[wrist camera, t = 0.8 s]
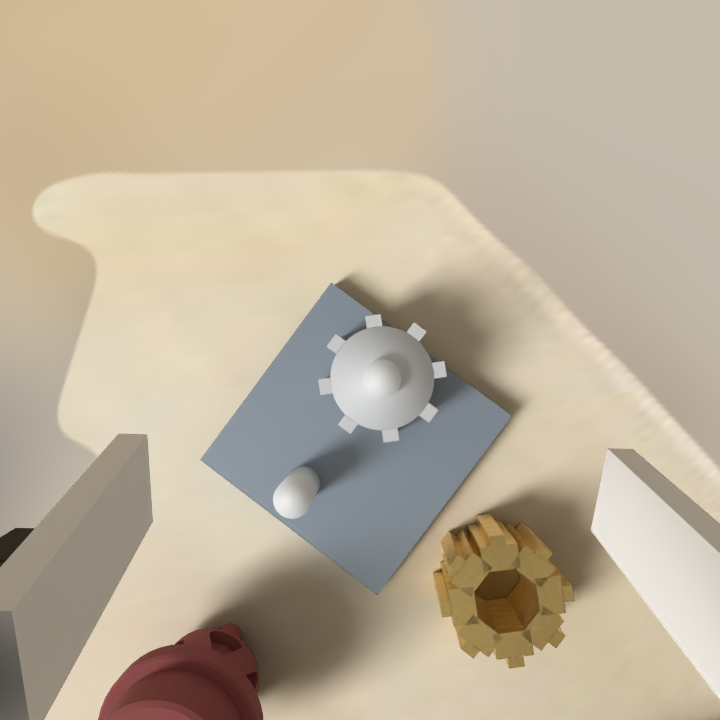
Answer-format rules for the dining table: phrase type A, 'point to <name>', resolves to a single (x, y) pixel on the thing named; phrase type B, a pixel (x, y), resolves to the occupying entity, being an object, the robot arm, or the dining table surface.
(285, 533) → the dining table surface
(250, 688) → the mechanical component
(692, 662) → the robot arm
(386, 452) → the gear board
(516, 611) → the brass gear
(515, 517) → the dining table surface
